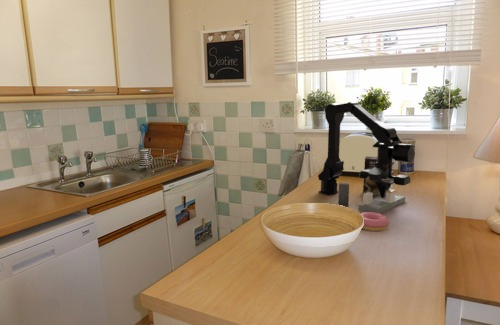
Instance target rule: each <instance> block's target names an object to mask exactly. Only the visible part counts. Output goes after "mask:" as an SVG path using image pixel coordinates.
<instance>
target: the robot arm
mask: <svg viewBox="0 0 500 325" xmlns="http://www.w3.org/2000/svg"><path fill="white" fill-rule="evenodd" d="M346 113H350V114H351V115H352V116H353V117H355V118H356V119H357V120H359V121H360V122H361V124H363V125H364V126H365V127H367V128H368V129H369V130H370V131H371V135H372V136H373V137H374V138H375V139H376V141H375V143H374V144H372V148H377V156H376V157H377V162H375V167H374V168H372V169H371V170H370V169H365V170H364V169H363V170H360V172H359V173H358V174H359V176H358V177H359V178H360V179H363V180H364V179H366V178H367V177H368V176H369V180H371V181H372V182H374V183H375V184H376V185H377V186H378V189H379V192H380V195H381V198H384V197H385V195H386V191H388V190H389V188H390V186H391V185H393V184H395V185H398V186H406V185H408V184H411V177H410V176H409V175H407V174H398V175H394V172H395V171H393V165H395V162H401V163H409V164H411V163H413V162H414V159H415V154H416V152H415V149H414V147H413V143H412V144H411V143H409V144H407V143H402V141H401V139H400V138H399V136H398V134H397V130H396V128H395V127H393V126H391V125H389V124H387V123H385V122H382V121H380V120H379V119H377V118H376V117H374V116H373V115H372V114H371V113H369V112H368V111H367V110H366V109H365V108H364V107H362V106H361V105H360V104H359V103H358V102H357V101H349V102H348V101H347V102H346V103H340V102H339V103H338V102H337V103H336V102H335V103H328V104H327V105H326V106H325V108H324V114H325V115H324V116H325V119H326V122H327V125H328V133H327V134H328V136H327V140H328V141H327V157H326V160H325V162H324V164H323V168H322V169H323V170H322V171H321V172H320V173H319V174H318V175H317V178H318V180H319V181H320V190H319V191H318V193H320V194H324V195H328V196H331V195H335V194H338V193H339V190H338V180H337V179H340V176H341V175H342V173H343V171H344V170H345V168H344V165H345V161H344V160H341V158H340V142H341V141H340V139H341V136H340V135H341V124H342V122H343V120H344V118H345V117H344V116H345V114H346ZM393 160H394V161H393Z"/></svg>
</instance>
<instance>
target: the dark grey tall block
mask: <svg viewBox="0 0 500 325" xmlns="http://www.w3.org/2000/svg"><path fill="white" fill-rule="evenodd" d="M337 194H338V196H337V197H338V199H337V200H338V202H337V205H338V204H339V205H343V206H348V207H349V201H350V200H349V198H350V196H349V195H350V183H349V182H338V193H337Z"/></svg>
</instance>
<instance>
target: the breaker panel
mask: <svg viewBox="0 0 500 325" xmlns="http://www.w3.org/2000/svg"><path fill="white" fill-rule="evenodd" d="M385 201H386V196H385V197H384V198H381V196H379V195H377V196H376V197H373V203H371V204H369V205H366V204H363V202H362V203H360V204H358V210H359V211H363V212H374V213H379V214H382V213H384V212H386V211H388V210H390V209H392V208H394V207H397V206H398V205H401V204H402V203H404V202H406V196H403V195H397V194H395V201H394V202H392V203H387V202H385Z"/></svg>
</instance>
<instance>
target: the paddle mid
mask: <svg viewBox="0 0 500 325" xmlns="http://www.w3.org/2000/svg"><path fill="white" fill-rule="evenodd" d="M395 195H396V190H395V189H393V190H391V189H390V190H388V191H386V201H385V202H387V203H392V202H394V201H395Z"/></svg>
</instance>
